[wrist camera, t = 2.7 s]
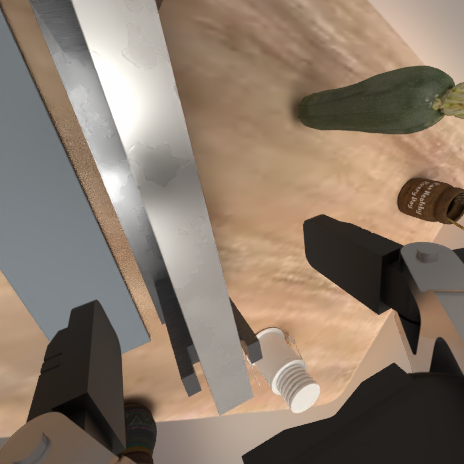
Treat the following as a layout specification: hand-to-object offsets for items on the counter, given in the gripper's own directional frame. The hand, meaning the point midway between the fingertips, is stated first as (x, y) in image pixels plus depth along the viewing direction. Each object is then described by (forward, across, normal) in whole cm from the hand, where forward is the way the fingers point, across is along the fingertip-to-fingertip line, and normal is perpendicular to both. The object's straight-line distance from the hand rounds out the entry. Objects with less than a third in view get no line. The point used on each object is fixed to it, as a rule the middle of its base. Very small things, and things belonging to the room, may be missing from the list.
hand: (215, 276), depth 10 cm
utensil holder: (+21, -38, +14) cm, 45 cm away
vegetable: (+20, -18, -3) cm, 27 cm away
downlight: (+21, -9, +30) cm, 37 cm away
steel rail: (+8, 0, 0) cm, 8 cm away
